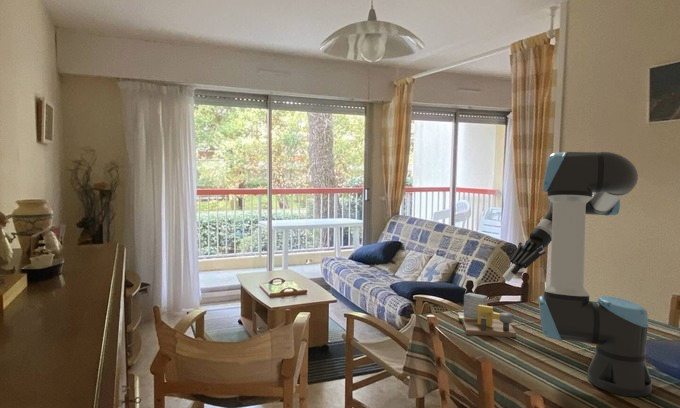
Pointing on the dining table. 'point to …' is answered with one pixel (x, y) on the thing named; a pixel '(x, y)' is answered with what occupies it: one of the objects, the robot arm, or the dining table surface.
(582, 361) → the dining table surface
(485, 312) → the latch arm
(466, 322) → the lock plate
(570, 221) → the robot arm
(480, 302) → the medicine box
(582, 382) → the dining table surface
